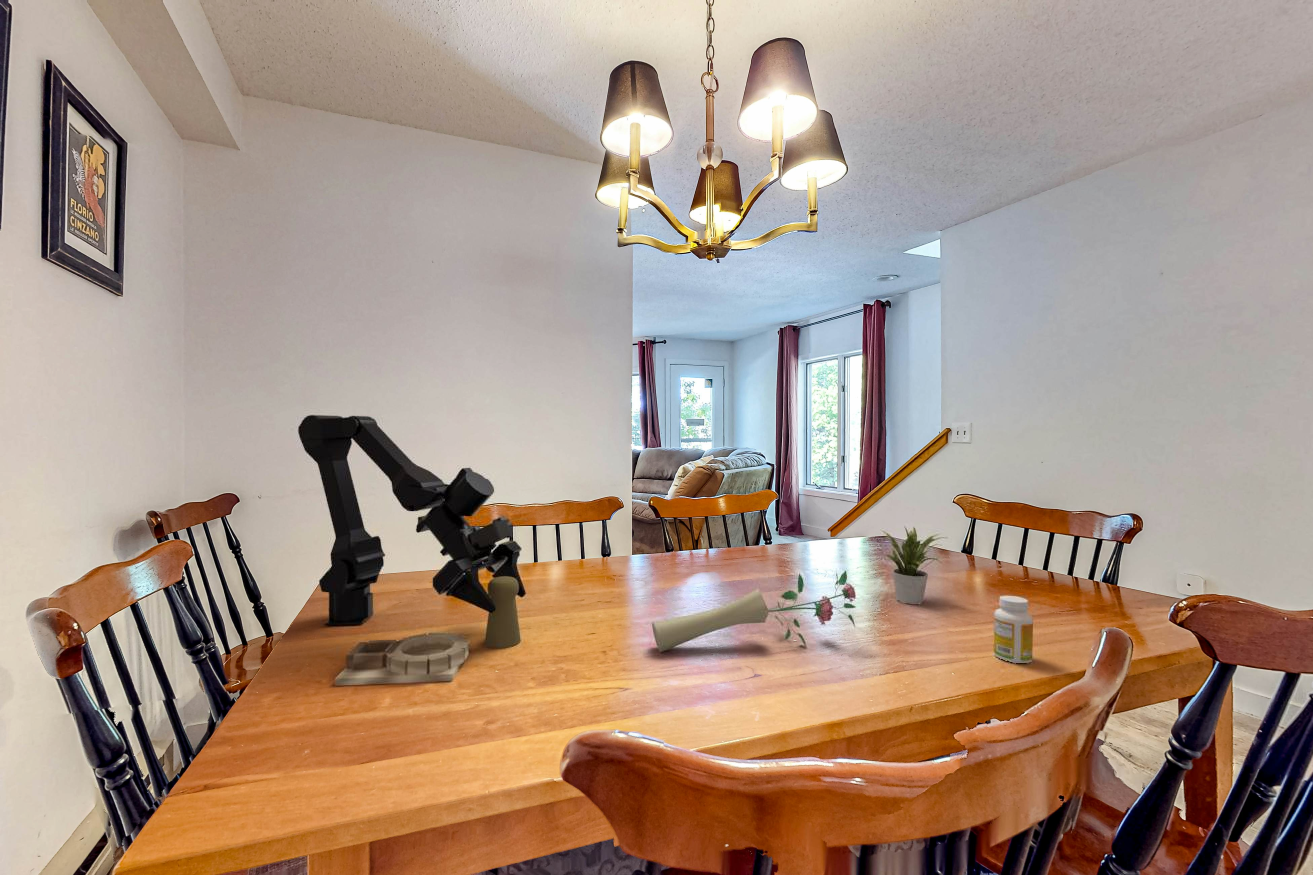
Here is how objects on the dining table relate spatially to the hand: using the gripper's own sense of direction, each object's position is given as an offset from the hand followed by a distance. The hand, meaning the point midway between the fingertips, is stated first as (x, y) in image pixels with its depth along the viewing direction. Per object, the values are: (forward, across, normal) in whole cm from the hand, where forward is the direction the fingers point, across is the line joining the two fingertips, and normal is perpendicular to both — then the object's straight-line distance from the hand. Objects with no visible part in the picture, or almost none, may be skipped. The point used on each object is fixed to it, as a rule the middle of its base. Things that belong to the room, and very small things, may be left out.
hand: (509, 603), depth 99 cm
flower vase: (+33, +13, -23) cm, 42 cm away
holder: (-2, -13, +11) cm, 18 cm away
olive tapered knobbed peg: (+4, 0, +6) cm, 7 cm away
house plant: (+54, +49, -43) cm, 85 cm away
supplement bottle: (+62, +21, -52) cm, 83 cm away
